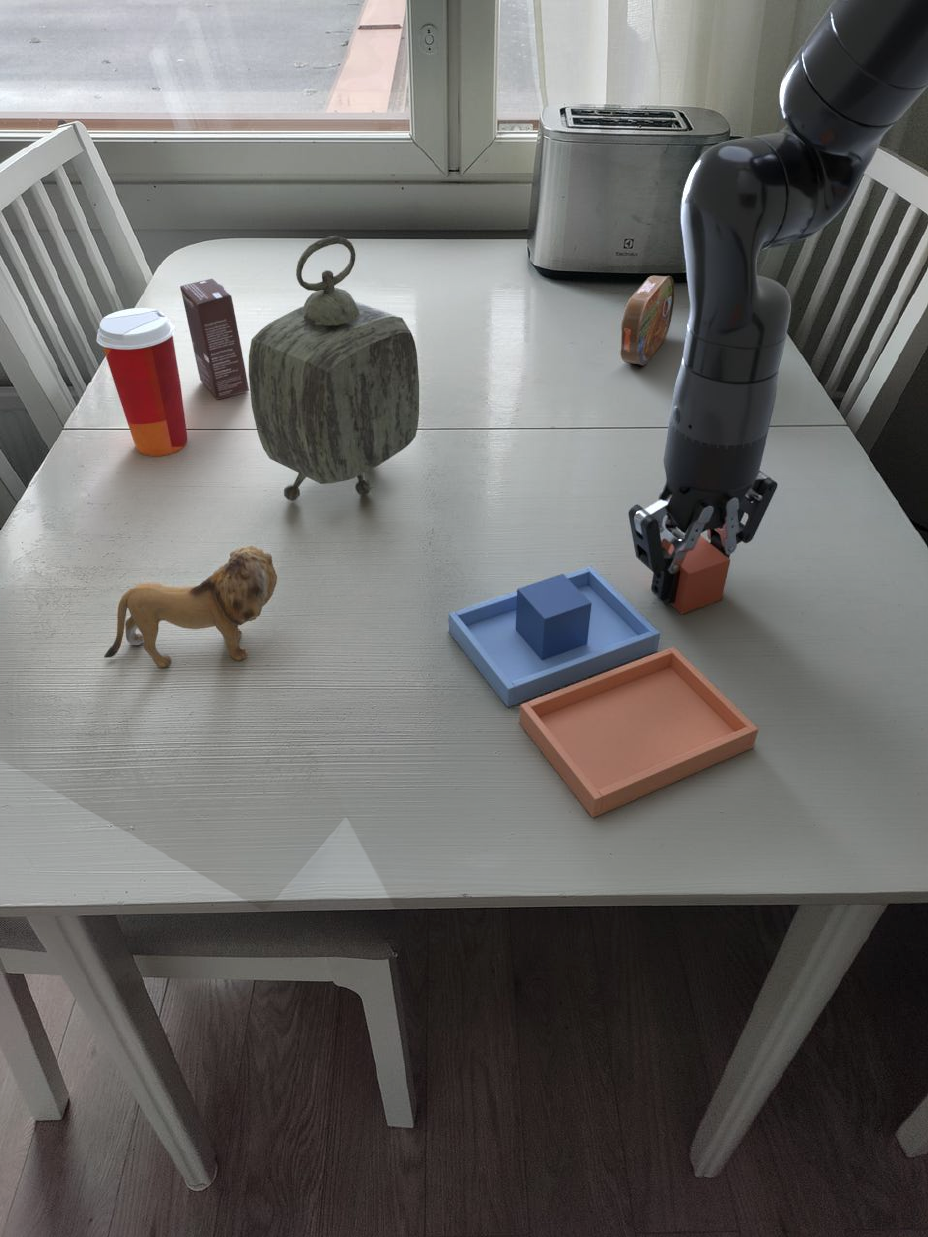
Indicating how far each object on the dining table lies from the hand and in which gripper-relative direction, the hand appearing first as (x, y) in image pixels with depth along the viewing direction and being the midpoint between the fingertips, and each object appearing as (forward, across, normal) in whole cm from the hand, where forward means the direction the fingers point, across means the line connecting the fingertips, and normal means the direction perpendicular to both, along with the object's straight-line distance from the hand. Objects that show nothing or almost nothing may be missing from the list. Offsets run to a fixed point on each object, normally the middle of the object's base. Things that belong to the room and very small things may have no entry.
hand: (687, 590), depth 85 cm
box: (0, -25, +58) cm, 63 cm away
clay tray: (0, -14, -12) cm, 18 cm away
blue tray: (0, -14, 0) cm, 14 cm away
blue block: (0, -14, 0) cm, 14 cm away
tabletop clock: (0, -20, +30) cm, 36 cm away
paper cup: (0, -35, +48) cm, 59 cm away
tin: (0, +26, +43) cm, 50 cm away
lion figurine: (0, -40, +13) cm, 42 cm away
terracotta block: (0, 0, 0) cm, 0 cm away
